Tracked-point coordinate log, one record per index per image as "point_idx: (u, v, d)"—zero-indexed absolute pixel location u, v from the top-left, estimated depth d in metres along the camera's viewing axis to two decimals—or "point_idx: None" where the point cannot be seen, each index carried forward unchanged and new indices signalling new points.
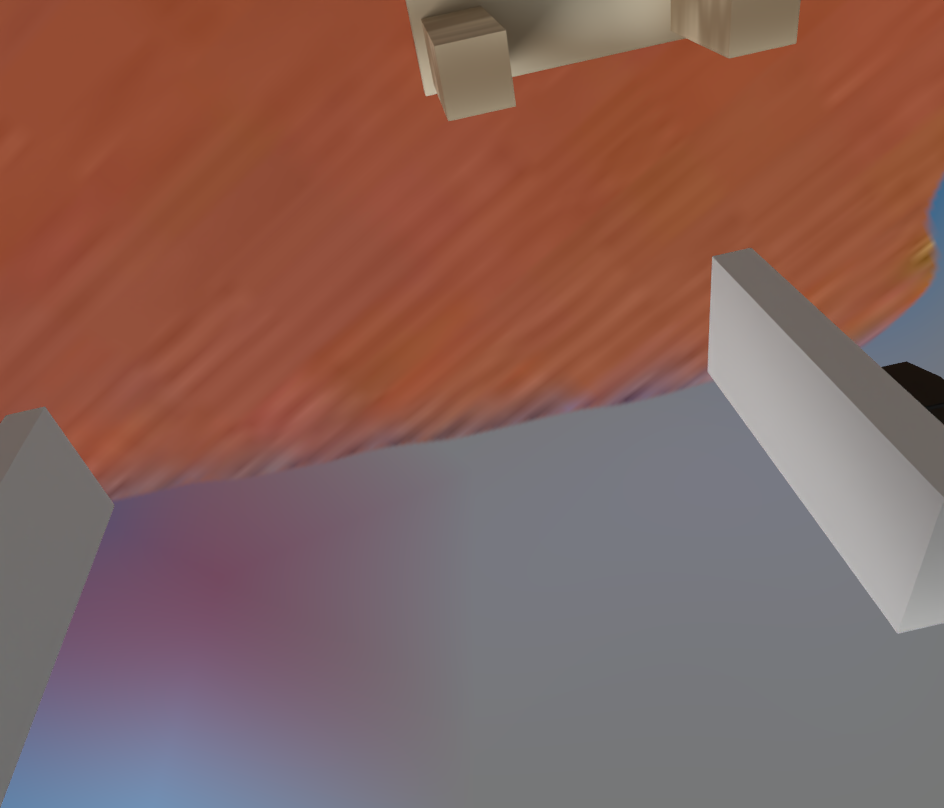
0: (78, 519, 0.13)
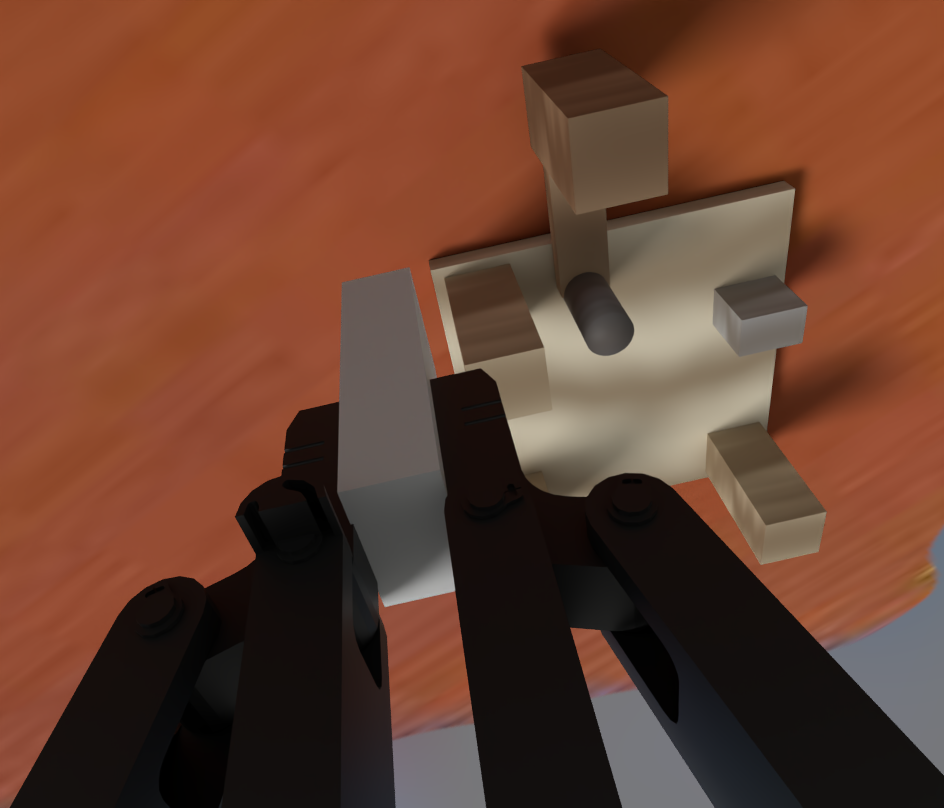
0: None
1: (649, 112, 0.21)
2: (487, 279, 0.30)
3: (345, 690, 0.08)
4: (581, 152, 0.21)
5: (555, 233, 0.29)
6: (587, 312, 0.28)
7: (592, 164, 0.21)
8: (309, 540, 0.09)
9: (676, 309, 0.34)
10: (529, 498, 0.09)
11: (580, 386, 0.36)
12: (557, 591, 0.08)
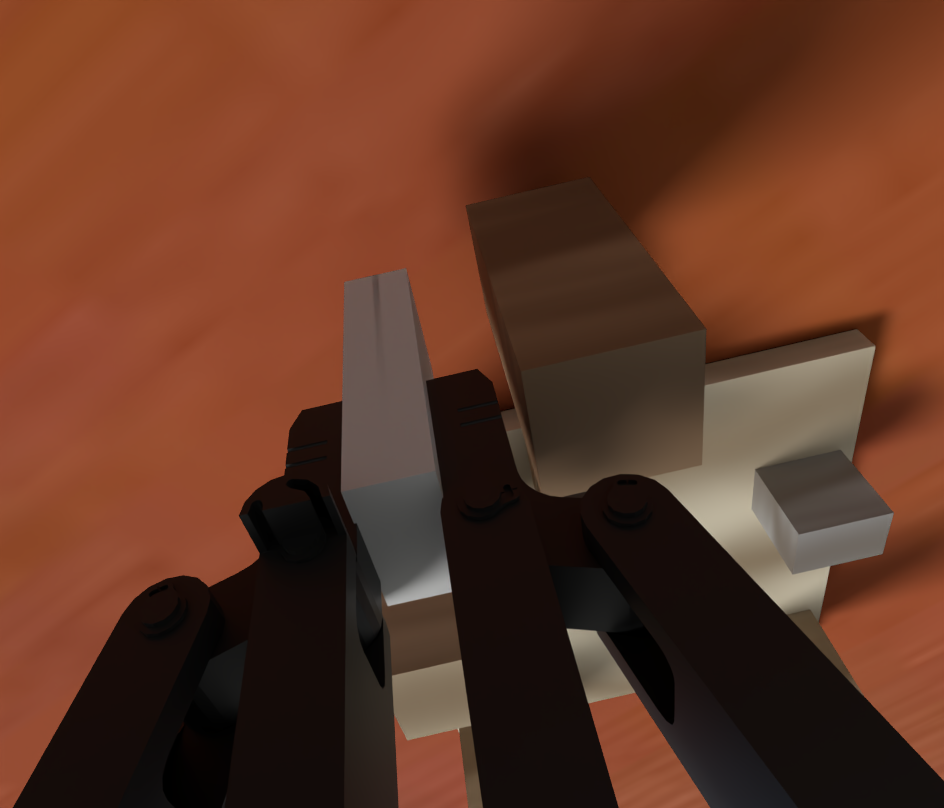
0: None
1: (671, 354, 0.11)
2: None
3: (348, 689, 0.08)
4: (548, 417, 0.12)
5: None
6: None
7: (569, 433, 0.12)
8: (313, 539, 0.09)
9: (702, 495, 0.24)
10: (525, 499, 0.09)
11: None
12: (553, 592, 0.08)
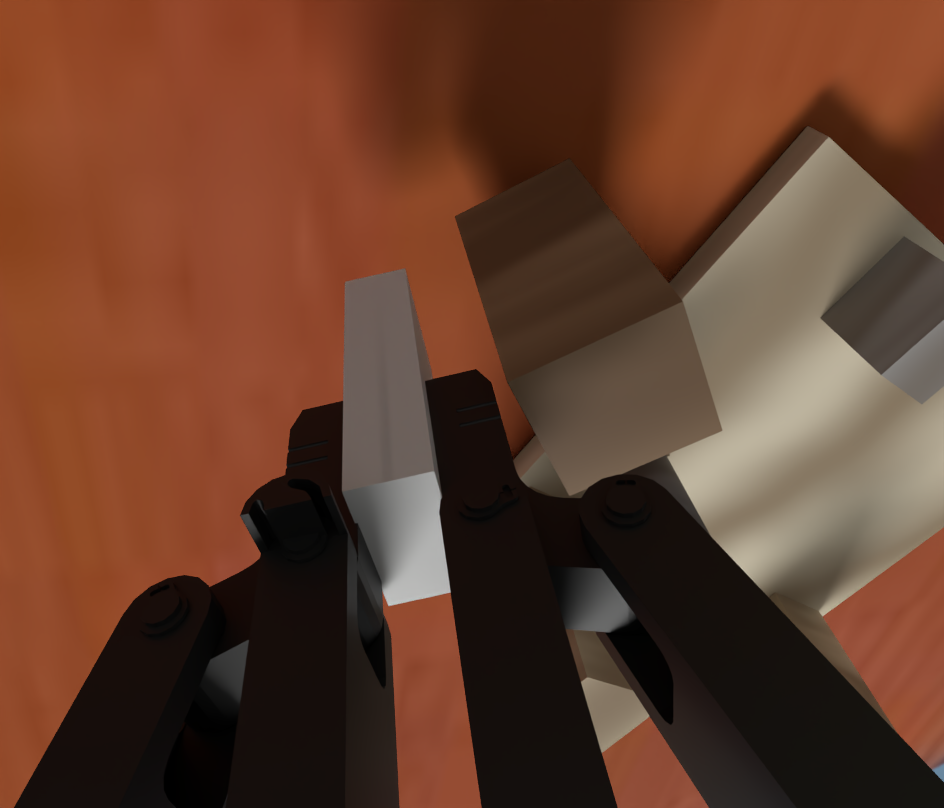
0: None
1: (654, 333, 0.11)
2: None
3: (349, 689, 0.08)
4: (548, 418, 0.12)
5: None
6: None
7: (573, 428, 0.12)
8: (314, 539, 0.09)
9: (787, 372, 0.22)
10: (524, 499, 0.09)
11: (739, 510, 0.25)
12: (552, 592, 0.08)
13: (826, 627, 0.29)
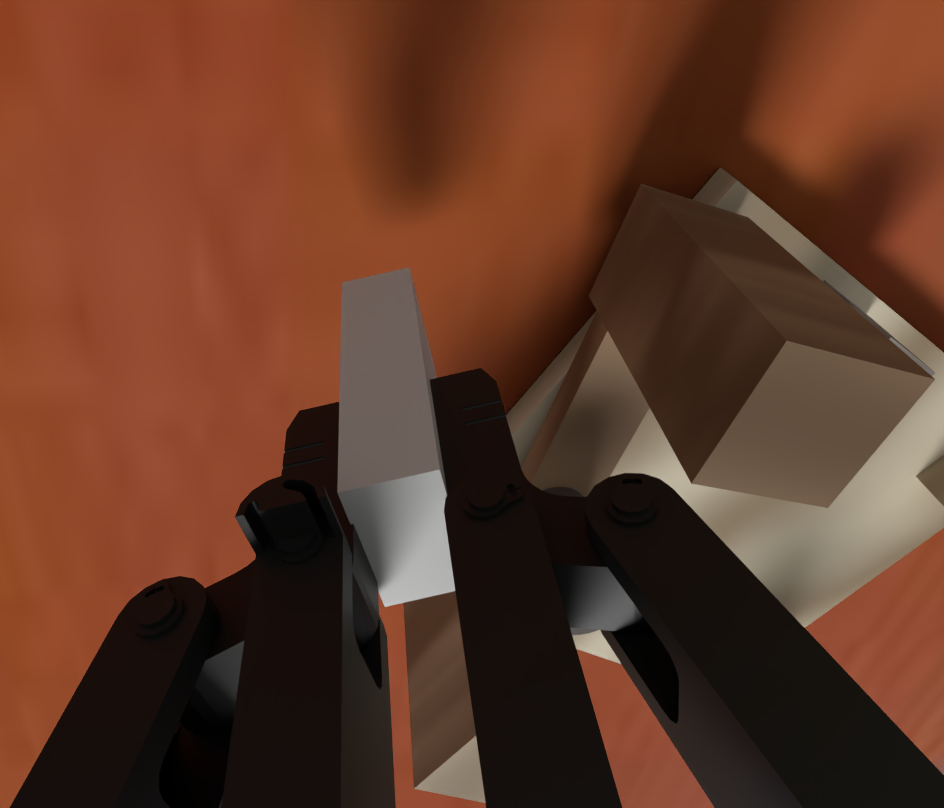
0: None
1: (895, 389, 0.12)
2: None
3: (345, 690, 0.08)
4: (766, 400, 0.11)
5: (560, 425, 0.19)
6: None
7: (767, 423, 0.12)
8: (309, 540, 0.09)
9: None
10: (528, 498, 0.09)
11: None
12: (556, 591, 0.08)
13: None
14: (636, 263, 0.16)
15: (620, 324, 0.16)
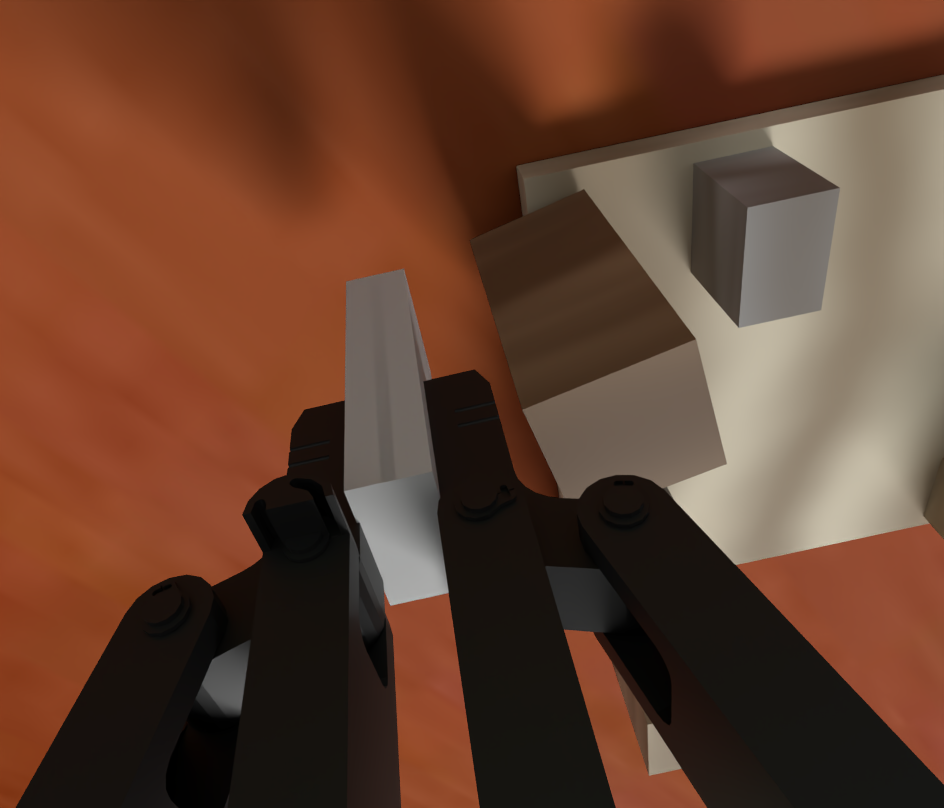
0: None
1: (667, 368, 0.11)
2: None
3: (351, 689, 0.08)
4: (560, 446, 0.12)
5: None
6: None
7: (584, 456, 0.12)
8: (316, 539, 0.09)
9: (712, 324, 0.20)
10: (522, 500, 0.09)
11: (805, 432, 0.23)
12: (550, 592, 0.08)
13: None
14: None
15: None
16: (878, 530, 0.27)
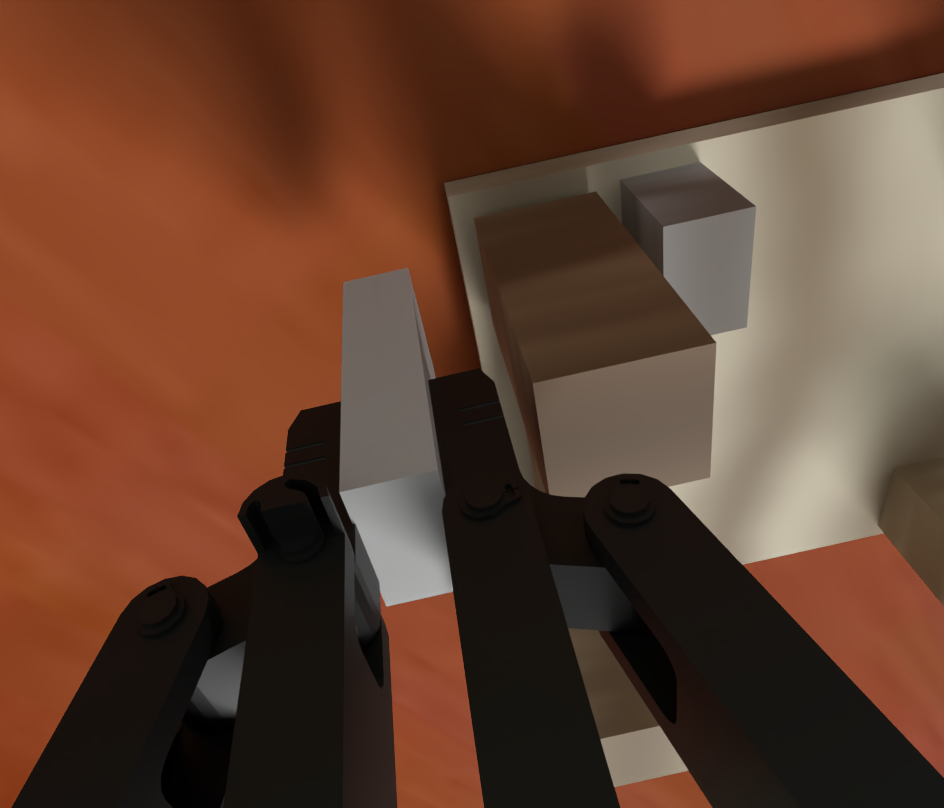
0: None
1: (682, 367, 0.11)
2: None
3: (347, 690, 0.08)
4: (559, 429, 0.12)
5: None
6: None
7: (578, 444, 0.12)
8: (311, 540, 0.09)
9: None
10: (527, 499, 0.09)
11: (752, 445, 0.23)
12: (555, 592, 0.08)
13: None
14: (492, 297, 0.16)
15: (504, 355, 0.17)
16: (833, 541, 0.27)
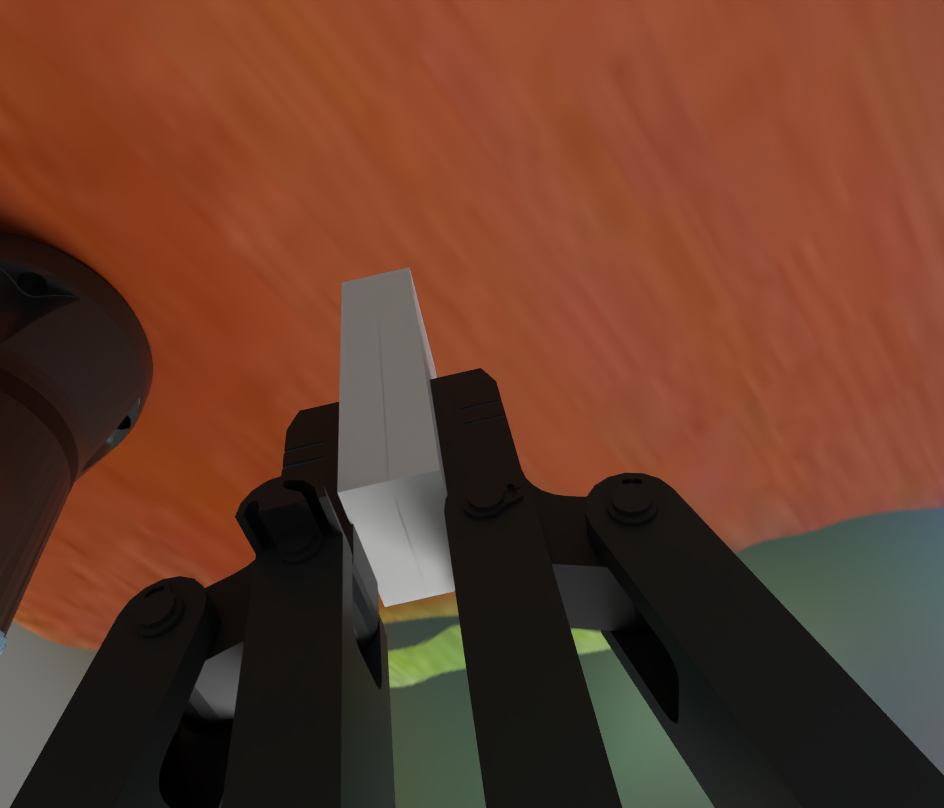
0: None
1: None
2: None
3: (345, 690, 0.08)
4: None
5: None
6: None
7: None
8: (309, 540, 0.09)
9: None
10: (529, 498, 0.09)
11: None
12: (557, 591, 0.08)
13: None
14: None
15: None
16: None
